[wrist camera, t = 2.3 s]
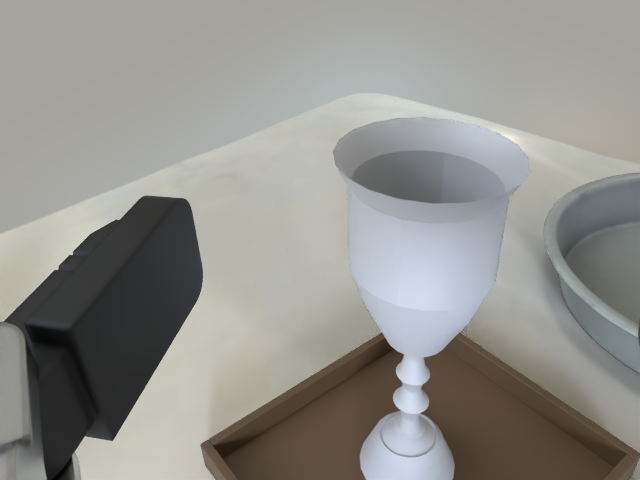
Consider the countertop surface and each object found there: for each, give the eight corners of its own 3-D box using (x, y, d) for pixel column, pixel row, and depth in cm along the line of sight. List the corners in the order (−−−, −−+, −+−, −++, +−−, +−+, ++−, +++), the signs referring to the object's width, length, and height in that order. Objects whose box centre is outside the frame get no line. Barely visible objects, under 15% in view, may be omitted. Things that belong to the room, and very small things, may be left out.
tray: (420, 327, 40) (422, 307, 39) (632, 475, 30) (641, 454, 29) (205, 464, 31) (199, 443, 30) (398, 737, 21) (400, 719, 20)
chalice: (503, 485, 29) (575, 169, 19) (392, 551, 27) (410, 226, 17) (417, 390, 35) (439, 105, 25) (319, 437, 32) (299, 141, 22)
